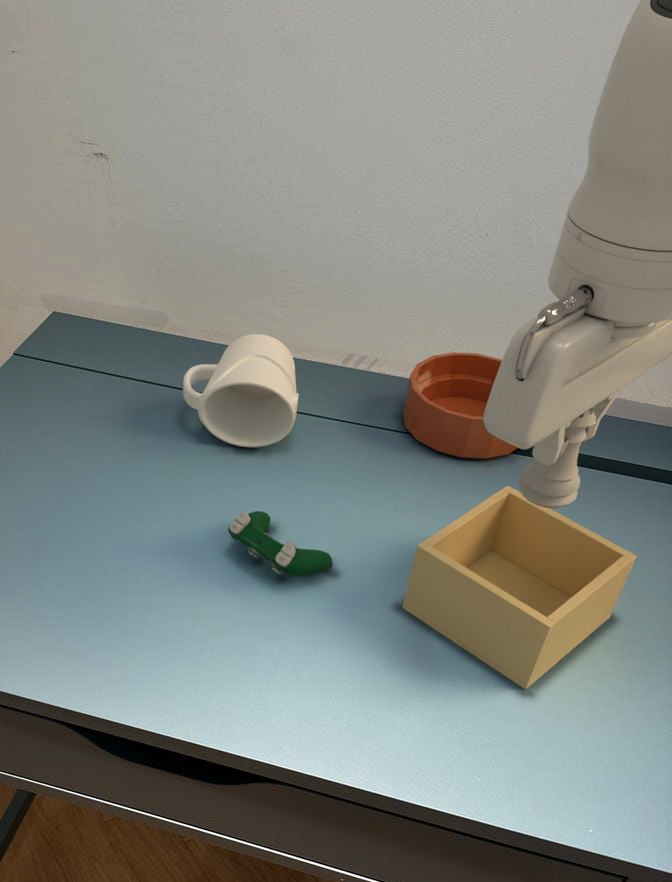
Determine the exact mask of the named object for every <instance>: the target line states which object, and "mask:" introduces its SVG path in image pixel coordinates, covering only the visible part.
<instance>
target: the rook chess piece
mask: <svg viewBox="0 0 672 882" xmlns="http://www.w3.org/2000/svg"><path fill="white" fill-rule="evenodd" d="M594 407H595V406H594ZM594 407H592V408H591V409H589V410H587V411H586V412H584V413H583V414H581V415H580V416H578V417H577V418H575V419H574V420H572V421H571V423H570V425H569V426H568V427H567V428H565V434H564V437H565V438H567V439H569V443H568V446H567V448H566V450H565V454H564V456H563V457H562V458H560V459H559V460H558V461H556V462H555V463H553V464H552V465H546V464H544V463H542V462H540V461H538V460H536V459H535V458H534V457H533V458H532V461H531V462H529V463H528V464H526V465H525V466H524V467H523V470H522V473H521V476H520V478H519V480H518V483H517V485H518V488H519V492H520V493H522V495H523V496H524V497H525V498H526V499H527V500H528V501H529V502H531V503H533V504H535V505H537V506H541V507H544V508H550V509H561V508H564V507H566V506H568V505H570V504H572V503H573V502H574V501H575V500H576V499H577V496H578V493H579V492H578V490H579V489H580V486H581V477H580V475H579V467H578V458H579V453H580V447H581V445H582V444H581V442H582V441H583V440H585V439H586V436H587V434H586V432H585V429H586V428H587V427H589V426H590V425H592V424H593V423H595V421H596V416H595V414H594V412H593V410H594Z"/></svg>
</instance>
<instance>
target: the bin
mask: <svg viewBox="0 0 672 882" xmlns="http://www.w3.org/2000/svg"><path fill="white" fill-rule="evenodd" d="M636 559H637V555H635V554H634V553H632V552H630V551H628V550H627V549H625V548H623V547H621V546H619V545H617V544H616V543H614V542H612V541H610V540H608V539H606V538H605V537H603V536H601V535H599V534H597V533H595V532H594V531H592V530H590V529H588V528H586V527H585V526H582V525H581V524H579V523H577V522H575V521H573V520H571V519H570V518H568V517H566V516H564V515H563V514H561V513H559V512H557V511H555V510H553V508H544V507H541V506H537V505H535V504H533V503H531V502H529V501H528V500H527V499H526V498H525V497H524V496H523V495H522V493H521V491H520V490H517V489H515V488H513V487H511V486H509V485H506V486H504V487H503V488H501V489H500V490H498V491H496V492H495V493H493V494H492V495H490V496H489V497H488V498H486V499H484V500H483V501H481V502H480V503H479V504H477V505H476V506H474V507H473V508H471V509H470V510H467V512H465V513H464V514H462V515H461V516H459V517H457V518H456V519H455V520H453V521H452V522H450V523H449V524H448V525H446V526H444V527H443V528H441V529H440V530H438V531H437V532H435V533H433V535H431V536H430V537H428V538H426V539H425V540H424V541H422V542H421V543H418V544H417V545H416V549H415V553H414V557H413V563H412V566H411V570H410V574H409V578H408V583H407V588H406V591H405V595H404V599H403V604H402V606H401V607H402V609H403V610H405V611H406V612H408V613H409V614H411V615H412V616H414V617H415V618H417V619H419V620H420V621H421V622H423V623H424V624H426V625H427V626H428V627H431V628H432V629H433V630H435V631H436V632H438V633H439V634H440V635H442V636H444V637H445V638H447V639H448V640H450V641H451V642H453V643H455V644H456V645H457V646H459V647H461V648H462V649H463V650H465V651H466V652H468V653H469V654H471V655H472V656H474V657H476V658H477V659H478V660H480V661H481V662H483V663H485V664H486V665H487V666H489V667H490V668H492V669H493V670H495V671H497V672H498V673H500V674H501V675H502V676H504V677H506V678H507V679H508V680H510V681H511V682H513V683H514V684H517V685H518V686H519V687H521V688H523V690H528V688H530V687H531V686H532V685H533V684H534V683H535V682H537V680H539V679H540V678H541V677H542V676H543V675H544V674H546V673H547V672H548V671H549V670H551V668H553V667H554V666H555V665H556V664H557V663H559V662H560V661H561V660H562V659H563V658H564V657H566V656H567V655H568V654H569V653H570V652H571V651H573V650H574V649H575V648H576V647H577V646H578V645H580V644H581V643H582V642H583V641H585V640H586V639H587V638H588V637H589V636H590V635H591V634H593V633H594V632H595V631H596V630H597V629H598V628H600V627H601V625H603V624H604V623H606V621H608V620H609V619H610V617H611V615H612V613H613V610H614V608H615V606H616V604H617V602H618V600H619V597H620V595H621V592H622V590H623V588H624V586H625V584H626V582H627V579H628V577H629V575H630V573H631V570H632V569H633V566H634V563H635V562H636Z"/></svg>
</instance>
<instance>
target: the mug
mask: <svg viewBox="0 0 672 882" xmlns="http://www.w3.org/2000/svg"><path fill="white" fill-rule="evenodd" d="M295 364H296V363H295V360H294V357H293V355H292V353H291V351H290V350H289V349H288V347H287V346H286V345H285V344H284V343H282V342H281V341H280V340H279V339H277V338H275V337H272V336H269V335H266V334H262V333H261V334H260V333H259V334H258V333H252V334H245V335H243V336H240V337H238V338H237V339H235V340H234V341H232V342H231V343H230V344H229V345H228V346H227V347H226V349H225V350H224V352H223V354H222V356H221V358H220V359H219V362H218V363H215V364H212V363H207V364H205V363H202V364H197V365H194V366H191V367H190V368H188V370H187V371H186V372H185V374H184V376H183V380H182V382H183V383H182V395H183V396H182V397H183V399H184V401H185V403H186V404H187V405H188V406H189V407H190V408H192V409H194V410H197V415H198V418H199V421H200V422H201V423H202V424H203V426H204V427H205V428H206V429H207V430H208V432H210V433H211V434H212V435H213V436H215V437H216V438H217V439H219V440H221V441H223V442H225V443H228V444H230V445H233V446H237V447H243V448H261V447H268V446H271V445H273V444H277V443H278V442H280V441H281V440H283V439H285V438H286V437H287V436H288V435H289V434H290V433H291V431H293V427H294V425H295V421H296V419H297V411H298V404H299V393H298V392H297V381H296V380H297V379H296V367H295V366H296V365H295ZM200 382H207V385H206V386H205V388H204V390H203V392H199V391H196V390H194V388H193V387H192V386H193V385H195V384H196V383H200Z"/></svg>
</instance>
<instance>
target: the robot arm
mask: <svg viewBox="0 0 672 882" xmlns="http://www.w3.org/2000/svg"><path fill="white" fill-rule="evenodd" d="M620 39H621V40H620V42H619V44H618V46H617V49H616V52H615V55H614V57H613V59H612V62H611V65H610V67H609V71H608V73H607V77H606V79H605V81H604V85H603V88H602V91H601V94H600V98H599V101H598V104H597V106H596V110H595V114H594V118H593V122H592V124H591V128H590V132H589V136H588V142H587V143H588V144H587V145H588V146H587V147H588V148H587V149H588V151H587V153H588V155H587V165H586V169H585V172H584V175H583V177H582V180H581V182H580V184H579V186H578V188H577V189H576V190H575V192H574V194H573V196H572V197H571V200H570V201H569V203H568V207H567V210H566V214H565V217H564V222H563V225H562V228H561V230H560V231H561V232H560V236H559V239H558V242H557V246H556V248H555V252H554V256H553V259H552V262H551V267H550V269H549V272H548V278H547V284H548V287H549V289H550V291H551V292H552V294H553V295H554V296H555V297H556V298H557V299H558V300H557V301H554V302H550V303H548V304H547V305H545V306H544V307H543V308H542V309H540V311H538V313H537V316H534V317H533V318H532V319H530V320H528V321H527V322H525V323H524V324H523V325H522V326H521V327H520V328H519V329H518V330H517V331H516V332H515V334H514V335H513V336H512V338H511V340H510V342H509V344H508V346H507V348H506V350H505V352H504V355H503V357H502V362H501V365H500V367H499V370H498V373H497V376H496V378H495V381H494V384H493V387H492V390H491V393H490V396H489V399H488V402H487V405H486V408H485V411H484V416H483V421H484V425H485V427H486V429H487V431H488V432H489V433H491V434H492V435H494V436H496V437H498V438H500V439H501V440H503V441H505V442H507V443H509V444H511V445H513V446H515V447H518V448H517V449H520V450H528V449H531V448H532V452H531V454H532V457H533V459H534V458H535V459H536V460H538V461H540V462H542V463H544V464H546V465H552V464H553V463H555V462H556V461H558V460H559V459H560V458H562V457H563V456H564V454H565V450H566V448H567V446H568V443H569V439H567V438H565V437H564V434H565V428H567V427H568V426H569V425H570V423H571V421H572V420H574V419H575V418H577V417H578V416H580V415H581V414H583V413H584V412H586V411H587V410H589V409H591V408H592V407H594V406H595V407H594V410H593V412H594V414H595V416H596V421H595V423H593V424H592V425H590V426H589V427H587V428H586V429H585V432H586V434H587V436H586V439H585V440H583V441H582V442H581V445H583V444H584V443H586V442H587V441H590V440H591V439H592V438H593V437H595V435H596V433H597V431H598V428H599V425H600V422H601V420H602V419H603V417H604V415H605V414H606V413H607V412H608V411H609V408H611V405H612V404H613V402H614V401H615V400H616V398H617V397H618V395H619V392H620V390H621V389H623V388H624V387H626V386H627V385H629V384H630V383H632V382H634V381H635V380H637V379H638V378H639V377H641V376H643V375H644V374H646V373H647V372H649V371H650V370H652V369H653V368H655V367H657V366H658V365H660V364H661V363H663V362H664V361H666V360H668V359H669V358H670V357H671V356H672V0H640V1H639V3H638V5H637V6H636V8H635V10H634V11H633V14H632V15H631V18H630V20H629V22H628V23H627V26H626V28H625V30H624V33H623V35H622V37H621V38H620Z"/></svg>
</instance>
